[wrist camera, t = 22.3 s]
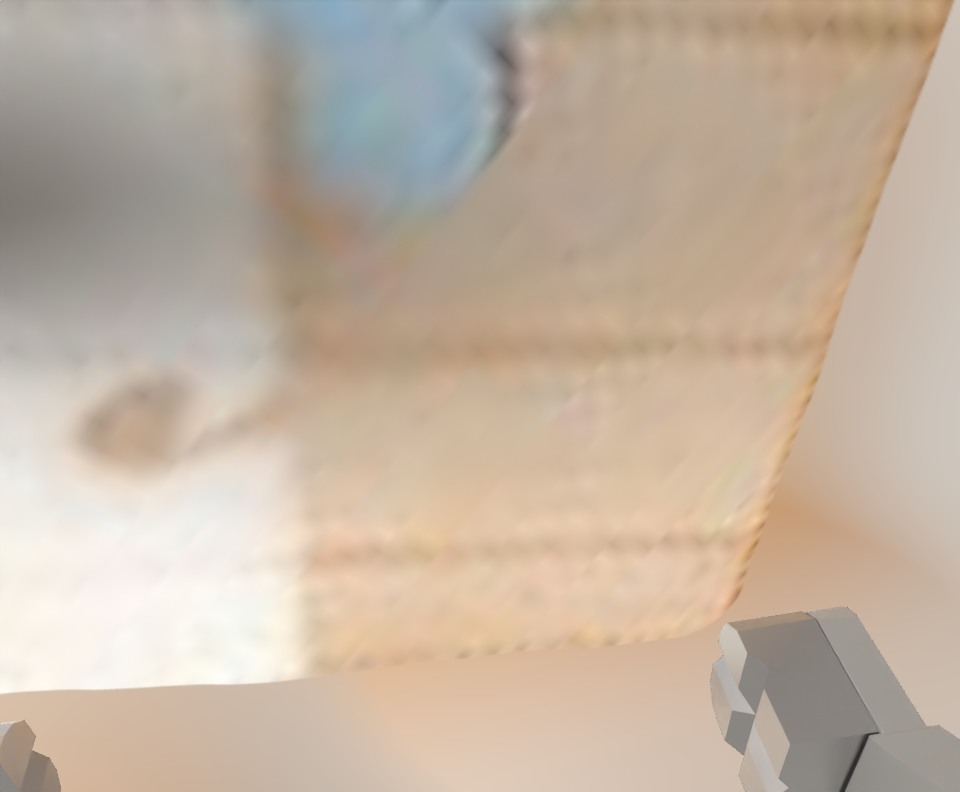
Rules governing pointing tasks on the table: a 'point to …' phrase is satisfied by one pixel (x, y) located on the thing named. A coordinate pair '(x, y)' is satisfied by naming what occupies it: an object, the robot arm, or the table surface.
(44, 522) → the table surface
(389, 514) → the table surface
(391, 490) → the table surface
